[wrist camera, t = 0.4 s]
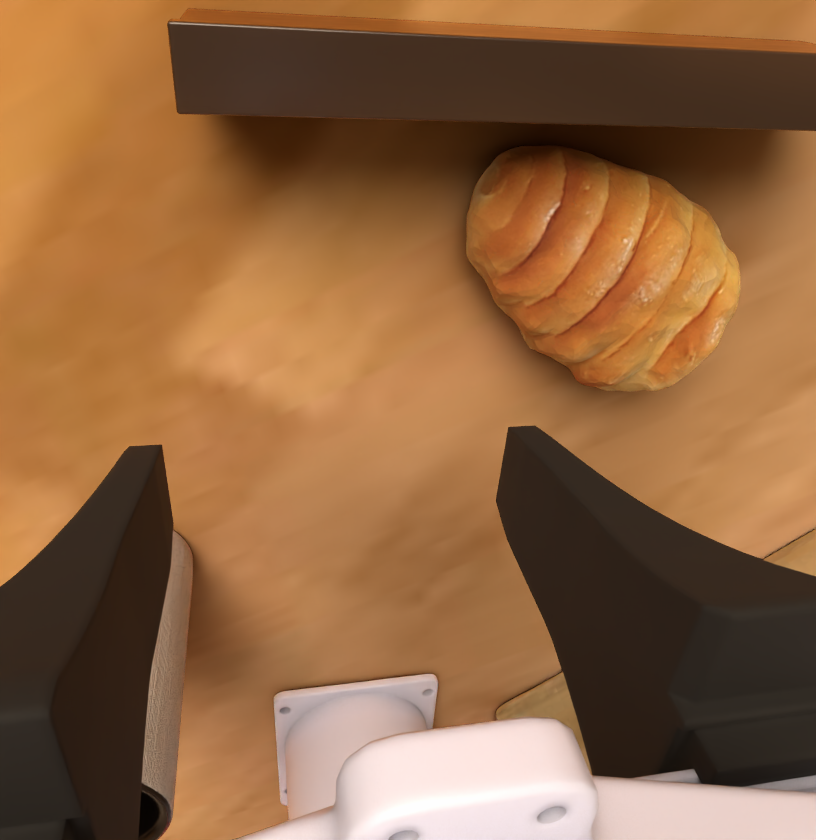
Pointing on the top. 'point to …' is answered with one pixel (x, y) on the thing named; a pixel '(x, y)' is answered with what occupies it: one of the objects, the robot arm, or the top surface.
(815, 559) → the caddy
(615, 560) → the robot arm
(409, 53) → the wall shelf
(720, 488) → the top surface
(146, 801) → the planter
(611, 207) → the pastry
